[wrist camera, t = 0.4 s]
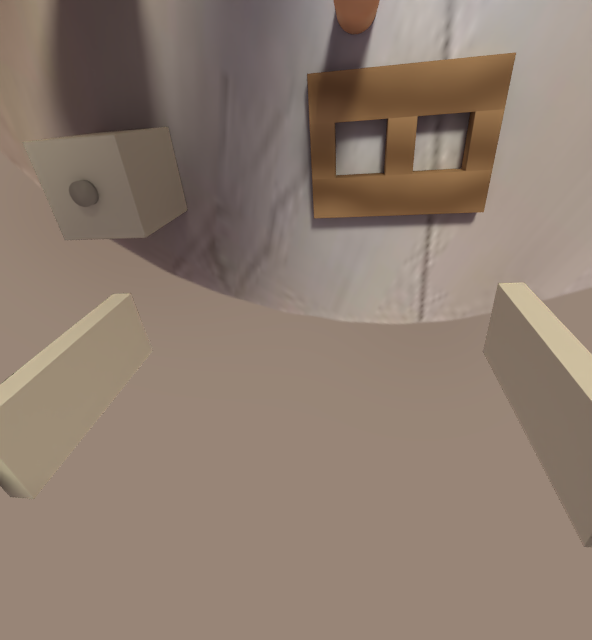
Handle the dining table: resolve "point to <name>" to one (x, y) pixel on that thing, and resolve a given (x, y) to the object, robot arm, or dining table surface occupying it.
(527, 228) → the dining table surface
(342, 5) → the peg
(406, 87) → the board
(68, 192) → the block
